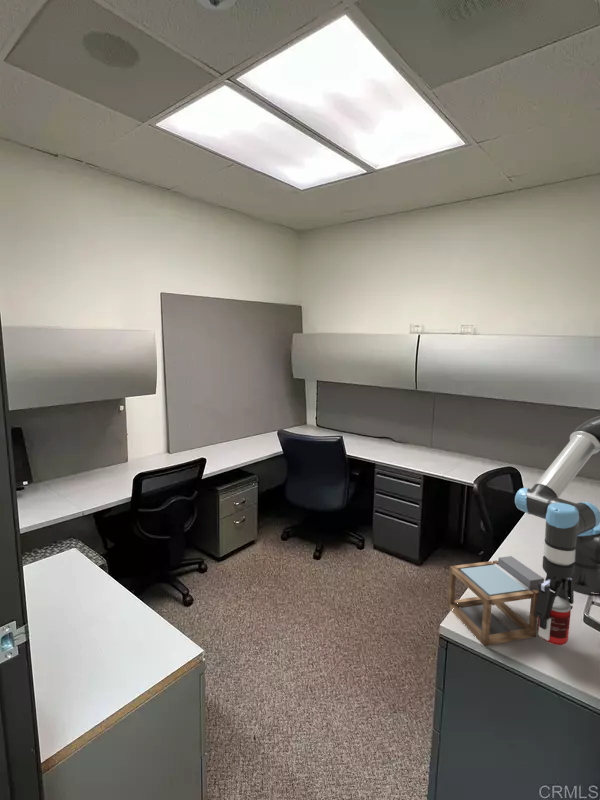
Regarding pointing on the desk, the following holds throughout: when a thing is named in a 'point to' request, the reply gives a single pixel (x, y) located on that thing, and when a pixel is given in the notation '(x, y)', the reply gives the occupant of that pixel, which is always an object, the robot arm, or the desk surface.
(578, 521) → the robot arm
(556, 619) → the canned food
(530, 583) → the trapdoor
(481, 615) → the frame
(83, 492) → the desk surface
